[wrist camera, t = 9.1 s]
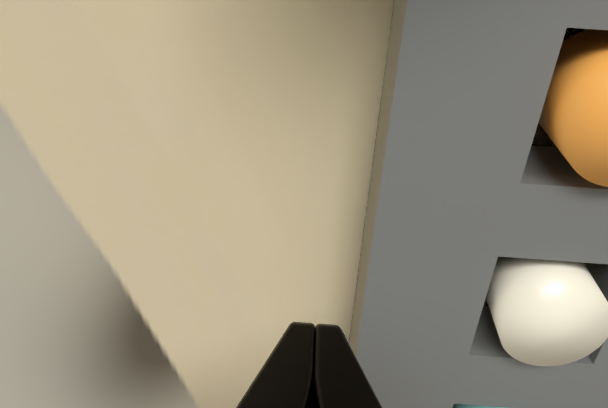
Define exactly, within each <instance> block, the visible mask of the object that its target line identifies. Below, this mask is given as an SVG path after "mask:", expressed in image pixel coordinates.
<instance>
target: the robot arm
mask: <svg viewBox="0 0 608 408" xmlns="http://www.w3.org/2000/svg"><path fill="white" fill-rule="evenodd" d="M236 408H382V406H381V404H380V402H379V400H378V399H377V397H376V395H375V393H374V391H373V389H372V387H371V385H370V383H369V381H368V379H367V378H366V376H365V374H364V372H363V370H362V368H361V366H360V364H359V362H358V360H357V358H356V357H355V355H354V353H353V351H352V349H351V347H350V345H349V343H348V341H347V339H346V338H345V336H344V334H343V332H342V330H341V328H340V327H339V326H337V325H329V324H317V325H316V327H315V326H314V324H312V323H302V322H293V323H291V324H290V325H289V327H288V328H287V330H286V331H285V333H284V334H283V336H282V337H281V339H280V341H279V342H278V344H277V345H276V347H275V348H274V350H273V351H272V353H271V355H270V356H269V358H268V359H267V361H266V362H265V364H264V365H263V367H262V369H261V370H260V372H259V373H258V375H257V376H256V378H255V379H254V381H253V383H252V384H251V386H250V387H249V389H248V390H247V392H246V393H245V395H244V397H243V398H242V400H241V401H240V403H239V404H238V406H237V407H236Z"/></svg>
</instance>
